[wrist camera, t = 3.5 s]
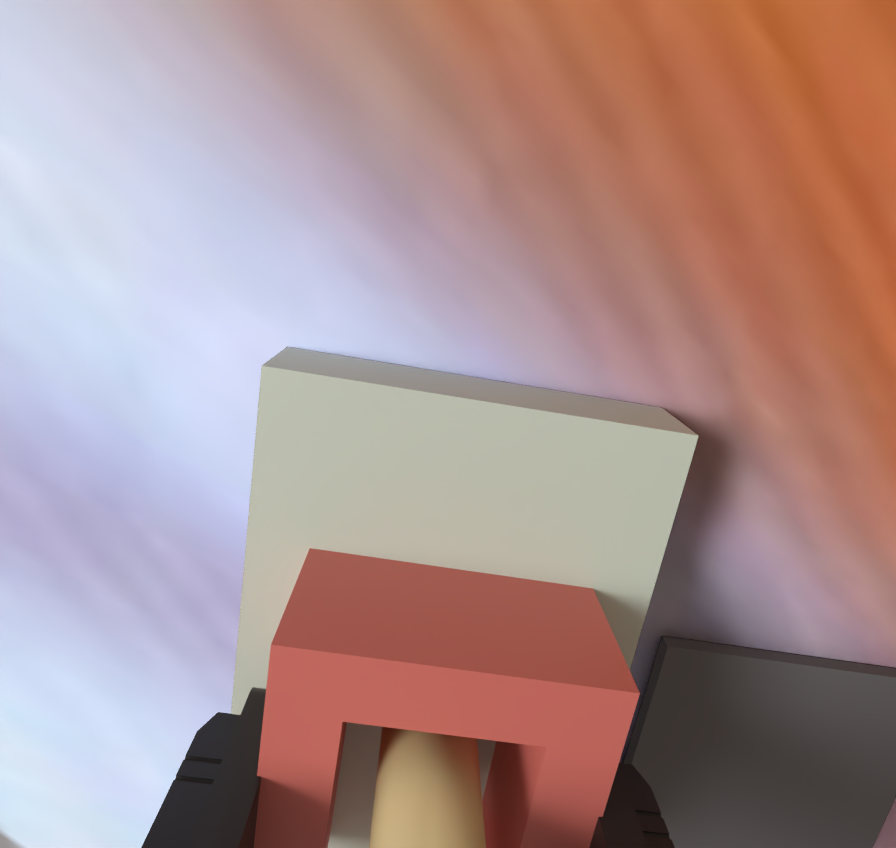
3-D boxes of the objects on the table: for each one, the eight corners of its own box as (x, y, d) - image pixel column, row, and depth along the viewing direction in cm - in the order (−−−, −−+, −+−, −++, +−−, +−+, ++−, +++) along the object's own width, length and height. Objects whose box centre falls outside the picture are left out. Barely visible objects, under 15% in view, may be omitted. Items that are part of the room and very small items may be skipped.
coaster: (662, 635, 15) (667, 646, 15) (935, 673, 16) (947, 685, 15) (594, 857, 17) (598, 871, 17) (839, 884, 18) (848, 899, 17)
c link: (309, 548, 12) (271, 644, 9) (593, 588, 13) (640, 693, 10) (275, 828, 14) (235, 980, 11) (522, 856, 14) (543, 1010, 12)
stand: (287, 346, 13) (130, 463, 6) (661, 407, 14) (881, 575, 7) (245, 770, 16) (109, 1153, 9) (552, 807, 17) (631, 1193, 10)
